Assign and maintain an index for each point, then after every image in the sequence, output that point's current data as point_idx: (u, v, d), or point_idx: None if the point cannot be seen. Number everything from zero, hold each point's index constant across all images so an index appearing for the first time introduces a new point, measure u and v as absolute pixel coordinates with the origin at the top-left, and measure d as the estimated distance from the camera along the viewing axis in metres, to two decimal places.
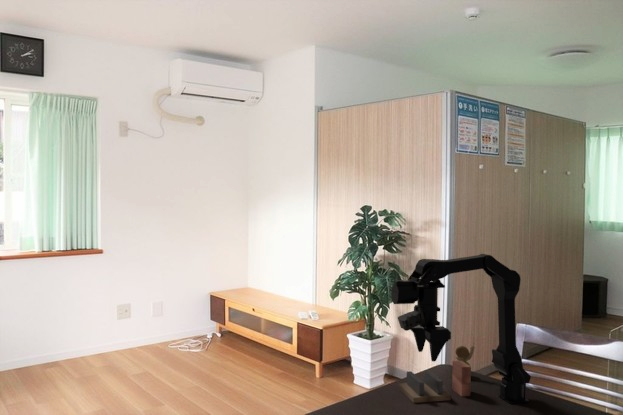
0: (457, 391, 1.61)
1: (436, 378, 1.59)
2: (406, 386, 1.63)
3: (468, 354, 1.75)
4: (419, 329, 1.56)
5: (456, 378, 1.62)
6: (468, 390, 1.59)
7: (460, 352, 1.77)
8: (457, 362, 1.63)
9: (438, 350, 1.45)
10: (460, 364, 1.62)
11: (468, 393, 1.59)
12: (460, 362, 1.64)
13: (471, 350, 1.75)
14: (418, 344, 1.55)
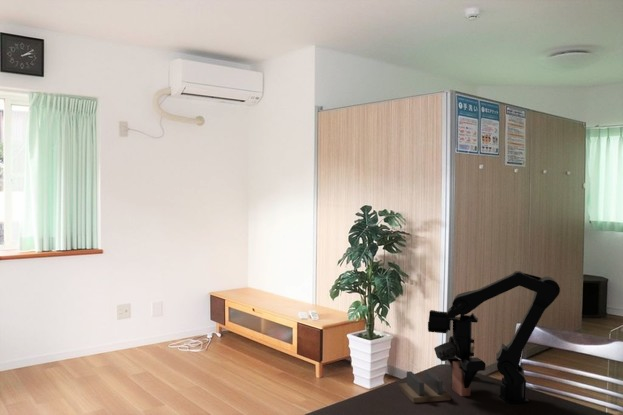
0: (457, 391, 1.61)
1: (436, 378, 1.59)
2: (406, 386, 1.63)
3: None
4: (455, 359, 1.66)
5: (456, 377, 1.62)
6: (468, 390, 1.59)
7: None
8: (457, 362, 1.63)
9: (471, 378, 1.58)
10: (460, 364, 1.62)
11: (468, 393, 1.59)
12: (460, 362, 1.63)
13: (471, 350, 1.75)
14: None
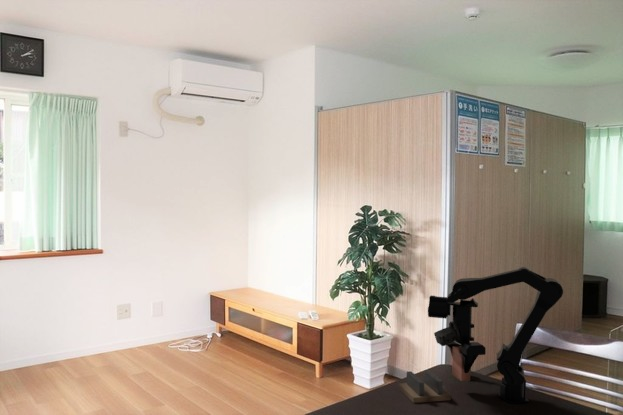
0: (457, 376, 1.61)
1: (436, 378, 1.59)
2: (406, 386, 1.63)
3: None
4: (455, 345, 1.65)
5: (456, 363, 1.62)
6: (468, 375, 1.59)
7: None
8: (457, 347, 1.63)
9: (471, 363, 1.58)
10: (460, 349, 1.62)
11: (468, 378, 1.59)
12: (460, 347, 1.63)
13: None
14: None
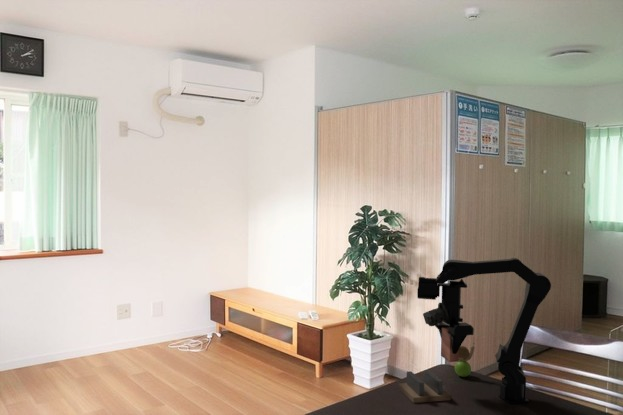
0: (445, 357, 1.61)
1: (436, 378, 1.59)
2: (406, 386, 1.63)
3: (468, 354, 1.75)
4: (444, 326, 1.65)
5: (445, 344, 1.61)
6: (456, 356, 1.59)
7: (460, 352, 1.77)
8: (446, 328, 1.63)
9: (459, 343, 1.57)
10: (449, 330, 1.61)
11: (456, 359, 1.59)
12: None
13: (471, 350, 1.75)
14: None
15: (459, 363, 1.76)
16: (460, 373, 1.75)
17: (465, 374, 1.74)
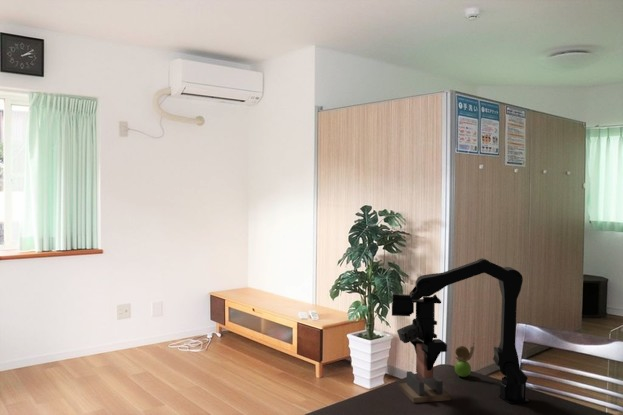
0: (420, 373, 1.60)
1: (436, 378, 1.59)
2: (406, 386, 1.63)
3: (468, 354, 1.75)
4: (419, 342, 1.64)
5: (419, 360, 1.60)
6: (431, 372, 1.58)
7: (460, 352, 1.77)
8: (420, 344, 1.62)
9: (433, 360, 1.56)
10: None
11: (431, 375, 1.58)
12: None
13: (471, 350, 1.75)
14: None
15: (459, 363, 1.76)
16: (460, 373, 1.75)
17: (465, 374, 1.74)
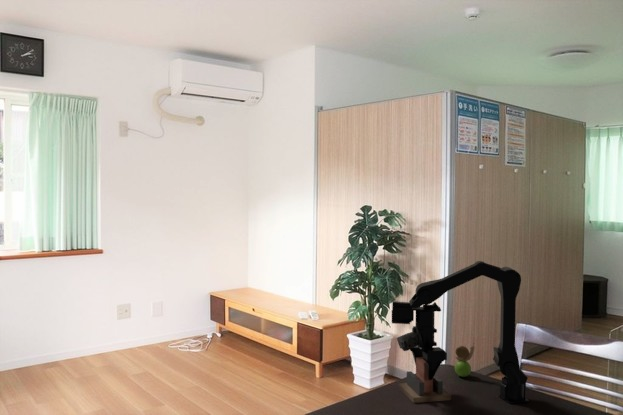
0: None
1: (436, 378, 1.59)
2: (406, 386, 1.63)
3: (468, 354, 1.75)
4: (417, 349, 1.65)
5: (419, 374, 1.61)
6: (431, 386, 1.58)
7: (460, 352, 1.77)
8: (420, 358, 1.62)
9: (435, 369, 1.55)
10: (423, 360, 1.60)
11: (431, 389, 1.58)
12: None
13: (471, 350, 1.75)
14: None
15: (459, 363, 1.76)
16: (460, 373, 1.75)
17: (465, 374, 1.74)
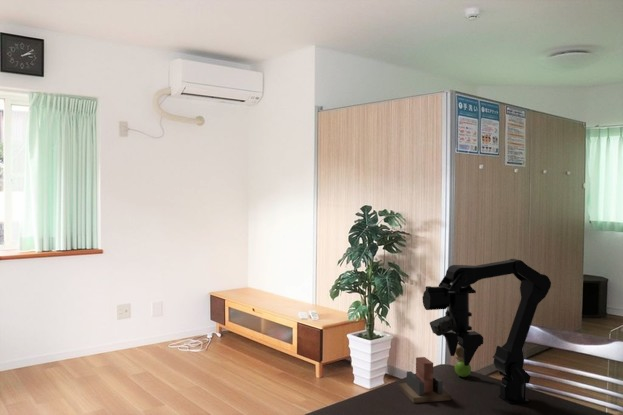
0: None
1: (436, 378, 1.59)
2: (406, 386, 1.63)
3: None
4: (451, 334, 1.59)
5: (419, 374, 1.61)
6: (431, 386, 1.58)
7: (460, 352, 1.77)
8: (420, 358, 1.62)
9: (471, 354, 1.48)
10: (423, 360, 1.60)
11: (431, 389, 1.58)
12: (423, 358, 1.62)
13: None
14: (450, 348, 1.58)
15: (459, 363, 1.76)
16: (460, 373, 1.75)
17: (465, 374, 1.74)
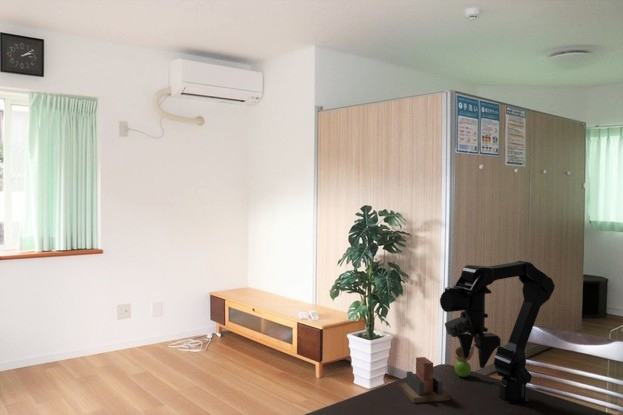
0: None
1: (436, 378, 1.59)
2: (406, 386, 1.63)
3: None
4: (465, 335, 1.56)
5: (419, 374, 1.61)
6: (431, 386, 1.58)
7: (460, 352, 1.77)
8: (420, 358, 1.62)
9: (487, 356, 1.45)
10: (423, 360, 1.60)
11: (431, 389, 1.58)
12: (423, 358, 1.62)
13: (471, 350, 1.75)
14: (464, 350, 1.55)
15: (459, 363, 1.76)
16: (460, 373, 1.75)
17: (465, 374, 1.74)
